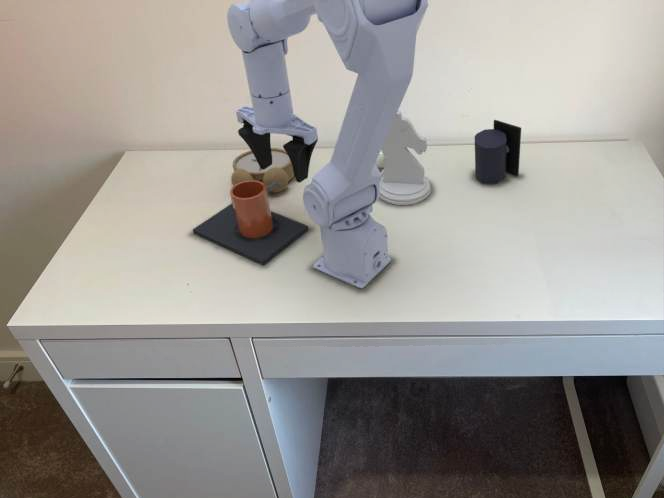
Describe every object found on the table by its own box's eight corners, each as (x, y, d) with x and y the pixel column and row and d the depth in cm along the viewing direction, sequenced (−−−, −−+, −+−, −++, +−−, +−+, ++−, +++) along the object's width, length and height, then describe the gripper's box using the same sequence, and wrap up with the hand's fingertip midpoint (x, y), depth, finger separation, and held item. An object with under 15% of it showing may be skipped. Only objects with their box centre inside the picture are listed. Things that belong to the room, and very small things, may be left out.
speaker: (499, 161, 110) (502, 113, 102) (519, 176, 106) (523, 127, 99) (467, 176, 108) (467, 128, 100) (485, 191, 104) (488, 142, 97)
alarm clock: (296, 146, 112) (285, 173, 99) (299, 170, 114) (289, 200, 101) (239, 148, 112) (220, 175, 99) (243, 172, 114) (225, 202, 102)
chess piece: (427, 206, 100) (429, 126, 90) (372, 203, 101) (367, 124, 91) (433, 177, 107) (434, 100, 97) (381, 174, 108) (377, 98, 98)
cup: (280, 224, 96) (273, 186, 91) (257, 242, 93) (248, 203, 88) (256, 214, 98) (247, 176, 93) (232, 231, 95) (222, 192, 90)
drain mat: (308, 229, 96) (307, 225, 95) (263, 265, 89) (262, 261, 89) (240, 202, 103) (239, 198, 102) (193, 233, 96) (192, 229, 96)
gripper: (214, 89, 83) (233, 171, 92) (289, 111, 77) (302, 197, 86) (248, 73, 88) (263, 153, 97) (322, 92, 81) (331, 176, 90)
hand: (284, 172), depth 92 cm, fingers open, 7 cm apart
